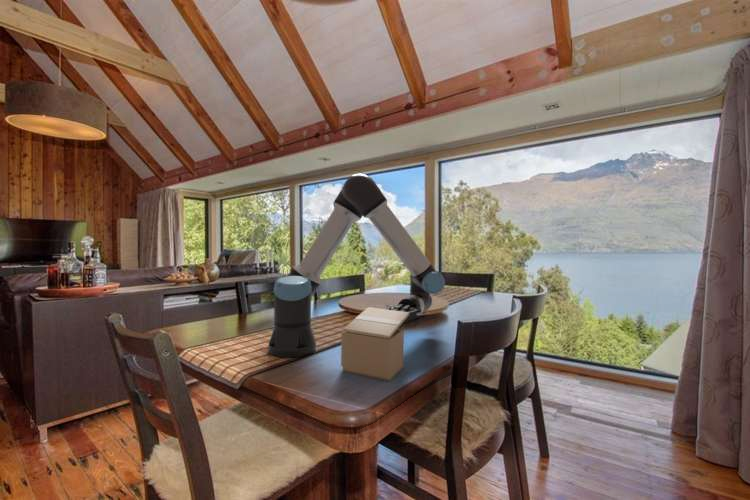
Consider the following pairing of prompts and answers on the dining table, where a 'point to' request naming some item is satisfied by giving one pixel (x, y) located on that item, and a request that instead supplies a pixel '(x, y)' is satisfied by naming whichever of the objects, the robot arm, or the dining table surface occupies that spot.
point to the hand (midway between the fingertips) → (383, 321)
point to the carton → (372, 354)
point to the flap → (377, 322)
